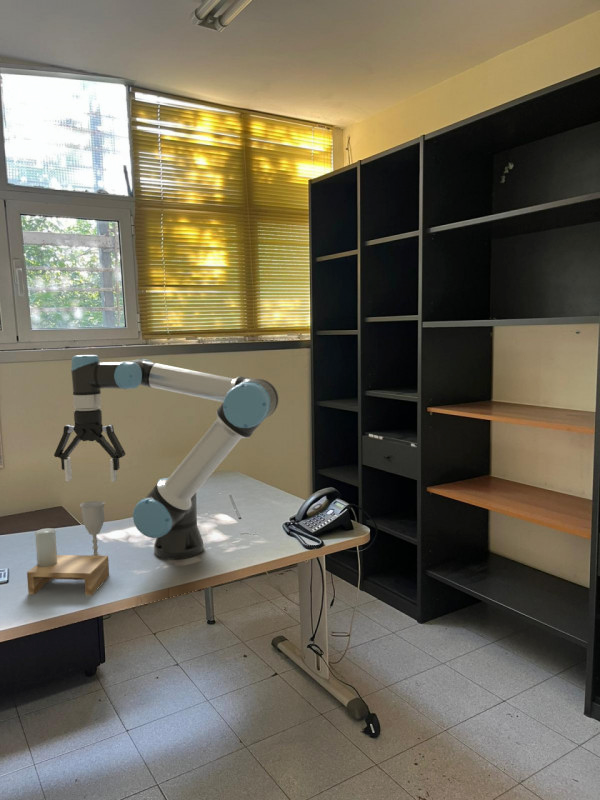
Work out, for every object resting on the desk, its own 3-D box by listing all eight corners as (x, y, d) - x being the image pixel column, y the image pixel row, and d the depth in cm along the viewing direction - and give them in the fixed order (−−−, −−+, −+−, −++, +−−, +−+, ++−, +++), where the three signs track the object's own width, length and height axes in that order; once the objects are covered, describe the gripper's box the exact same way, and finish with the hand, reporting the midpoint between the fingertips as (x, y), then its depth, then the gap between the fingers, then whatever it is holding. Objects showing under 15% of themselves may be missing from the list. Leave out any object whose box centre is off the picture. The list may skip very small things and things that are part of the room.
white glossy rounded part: (60, 559, 162) (58, 528, 161) (51, 567, 157) (49, 534, 156) (43, 559, 163) (41, 528, 162) (33, 566, 158) (31, 534, 157)
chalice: (78, 565, 173) (74, 506, 172) (94, 557, 180) (90, 500, 178) (98, 568, 171) (94, 508, 169) (113, 560, 177) (110, 501, 175)
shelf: (109, 576, 166) (108, 555, 165) (91, 595, 154) (90, 573, 153) (50, 575, 167) (49, 554, 166) (28, 594, 155) (26, 572, 154)
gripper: (134, 407, 173) (137, 477, 175) (51, 407, 174) (56, 477, 177) (125, 410, 165) (128, 484, 168) (39, 410, 167) (43, 483, 169)
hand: (91, 480), depth 172 cm, fingers open, 13 cm apart
